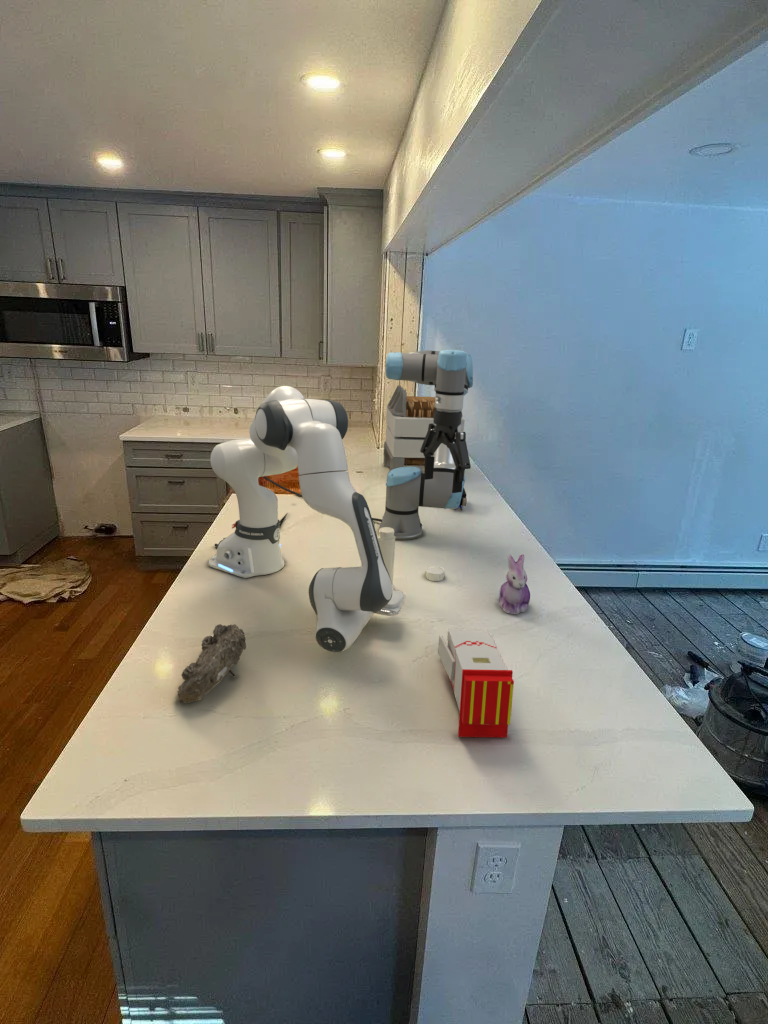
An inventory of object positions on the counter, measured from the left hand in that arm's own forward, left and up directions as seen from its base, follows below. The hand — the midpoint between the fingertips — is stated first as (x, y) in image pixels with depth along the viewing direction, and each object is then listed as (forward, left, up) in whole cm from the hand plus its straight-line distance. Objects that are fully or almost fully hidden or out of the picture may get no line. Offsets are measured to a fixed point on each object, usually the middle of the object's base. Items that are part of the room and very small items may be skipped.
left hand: (374, 583), depth 149 cm
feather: (-52, +51, -6) cm, 73 cm away
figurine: (+36, +14, -6) cm, 39 cm away
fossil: (-21, -41, -6) cm, 46 cm away
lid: (+11, +23, -4) cm, 26 cm away
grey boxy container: (-21, +131, -6) cm, 133 cm away
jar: (0, +10, -6) cm, 12 cm away
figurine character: (+5, +90, -6) cm, 90 cm away
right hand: (+11, +23, +22) cm, 34 cm away
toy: (+31, -27, -6) cm, 41 cm away
